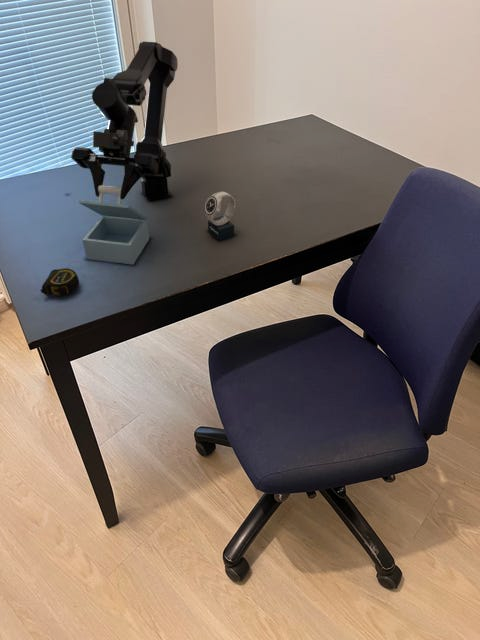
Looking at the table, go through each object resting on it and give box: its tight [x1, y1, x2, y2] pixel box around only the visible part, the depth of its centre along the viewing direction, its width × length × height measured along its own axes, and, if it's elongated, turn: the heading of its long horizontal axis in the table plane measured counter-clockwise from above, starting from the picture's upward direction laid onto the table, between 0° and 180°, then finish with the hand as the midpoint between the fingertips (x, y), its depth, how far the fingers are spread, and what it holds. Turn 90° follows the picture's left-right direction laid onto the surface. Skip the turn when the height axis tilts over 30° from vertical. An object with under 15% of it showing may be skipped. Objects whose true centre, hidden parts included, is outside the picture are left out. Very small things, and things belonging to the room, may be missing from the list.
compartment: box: [82, 215, 150, 266], centre depth 115 cm, size 12×12×5 cm
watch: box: [203, 191, 237, 241], centre depth 119 cm, size 6×8×11 cm
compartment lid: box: [78, 184, 148, 221], centre depth 111 cm, size 12×12×5 cm
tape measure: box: [40, 267, 80, 297], centre depth 103 cm, size 7×7×4 cm
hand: (109, 197), depth 108 cm, fingers closed on compartment lid, 5 cm apart
